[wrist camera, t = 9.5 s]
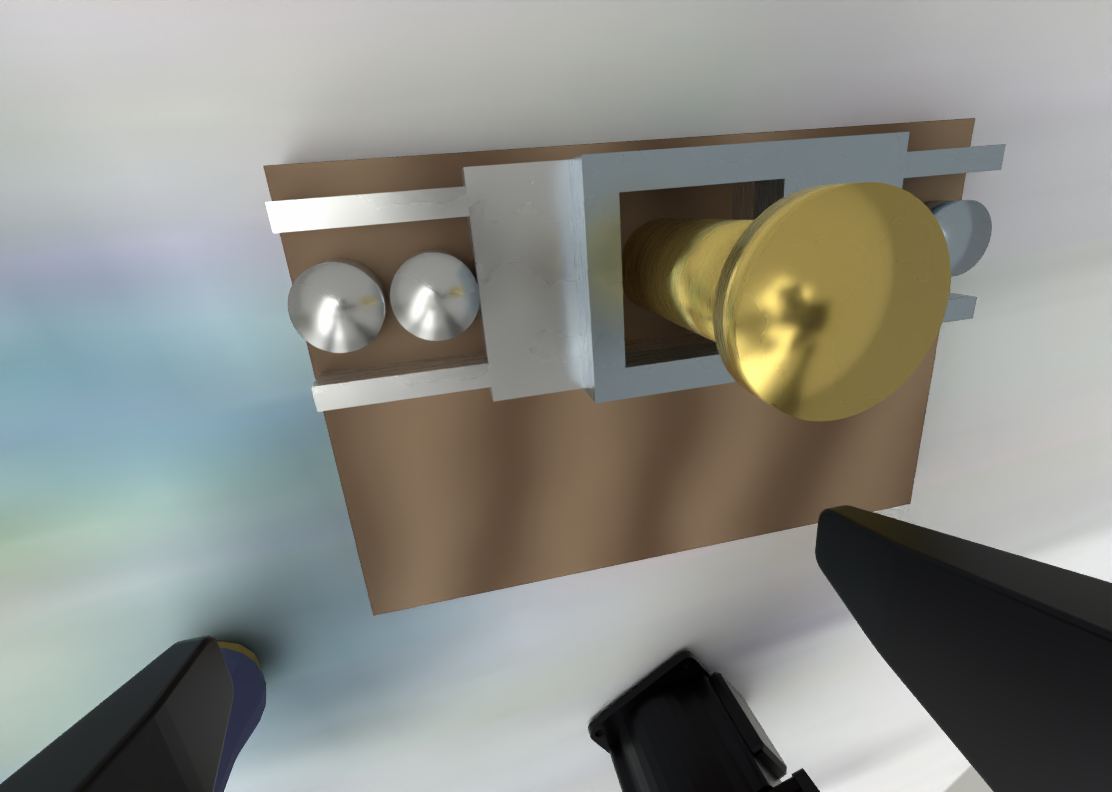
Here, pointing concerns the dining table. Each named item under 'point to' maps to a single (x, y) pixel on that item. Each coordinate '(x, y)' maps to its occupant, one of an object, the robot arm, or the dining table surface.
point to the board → (579, 413)
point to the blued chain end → (776, 178)
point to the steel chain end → (459, 288)
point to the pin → (804, 293)
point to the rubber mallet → (240, 705)
